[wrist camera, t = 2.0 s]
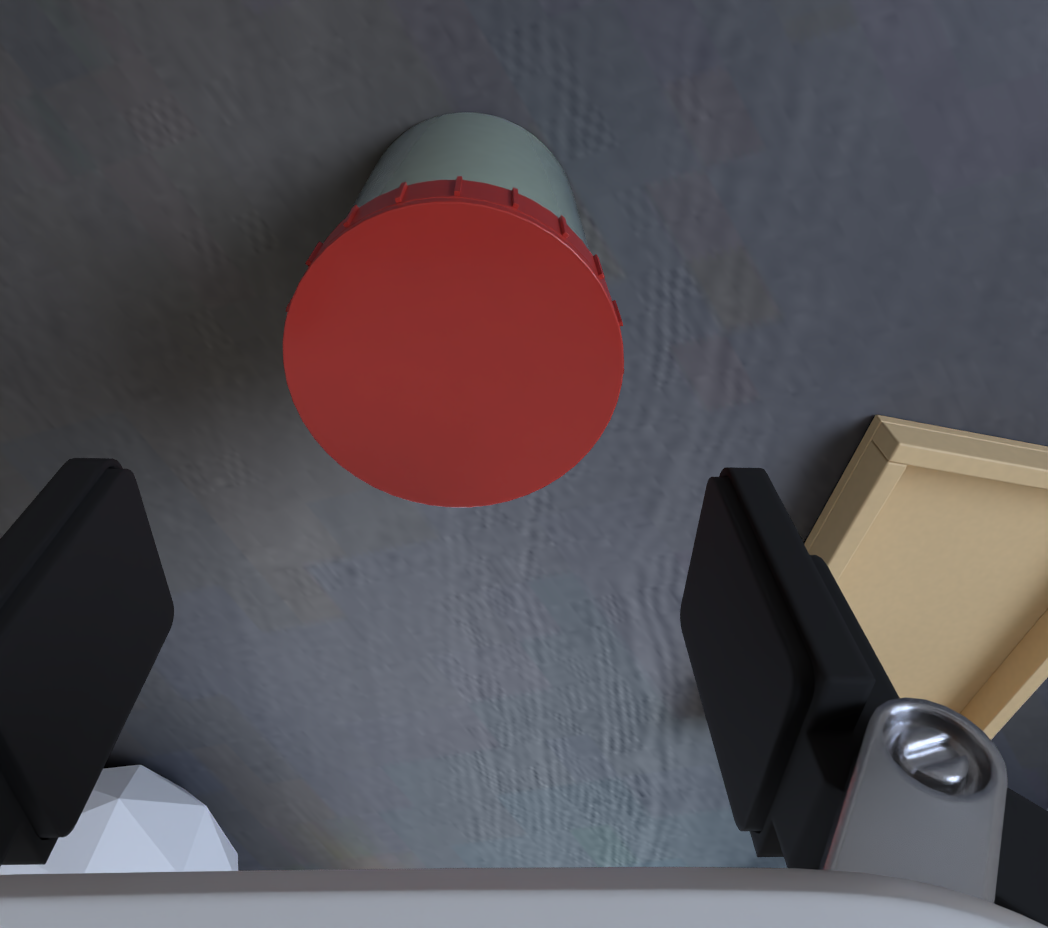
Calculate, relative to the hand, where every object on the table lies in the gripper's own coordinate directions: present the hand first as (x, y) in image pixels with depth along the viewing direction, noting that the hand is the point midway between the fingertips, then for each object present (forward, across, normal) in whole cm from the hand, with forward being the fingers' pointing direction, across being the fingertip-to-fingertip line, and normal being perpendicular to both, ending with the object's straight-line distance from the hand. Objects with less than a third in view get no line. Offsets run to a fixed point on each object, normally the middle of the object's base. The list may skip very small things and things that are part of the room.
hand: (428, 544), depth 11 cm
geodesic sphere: (+15, +17, +30) cm, 38 cm away
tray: (+15, -20, +15) cm, 29 cm away
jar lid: (+5, 0, 0) cm, 5 cm away
